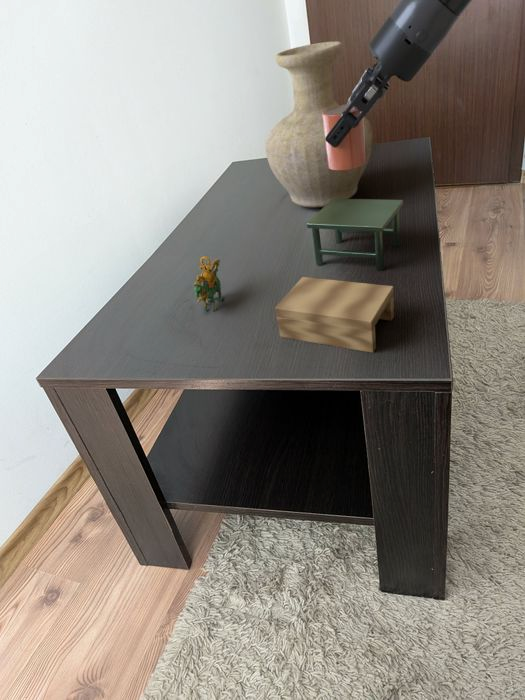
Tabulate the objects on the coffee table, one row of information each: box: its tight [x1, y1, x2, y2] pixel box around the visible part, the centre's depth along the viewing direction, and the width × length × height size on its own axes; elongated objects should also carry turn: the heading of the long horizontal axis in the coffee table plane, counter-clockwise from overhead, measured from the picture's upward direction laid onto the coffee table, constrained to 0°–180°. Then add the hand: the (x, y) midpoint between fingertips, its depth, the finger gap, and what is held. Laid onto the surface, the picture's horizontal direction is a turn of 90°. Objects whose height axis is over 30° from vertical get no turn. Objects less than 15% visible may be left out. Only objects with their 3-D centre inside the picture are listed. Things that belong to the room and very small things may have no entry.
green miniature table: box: [306, 198, 404, 272], centre depth 88 cm, size 13×11×8 cm
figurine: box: [193, 256, 223, 312], centre depth 84 cm, size 3×12×8 cm, turn 167°
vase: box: [265, 40, 374, 208], centre depth 106 cm, size 22×22×30 cm
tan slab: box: [274, 276, 395, 354], centre depth 72 cm, size 14×9×5 cm, turn 61°
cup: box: [322, 103, 367, 171], centre depth 77 cm, size 6×6×8 cm
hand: (333, 136), depth 78 cm, fingers closed on cup, 6 cm apart
